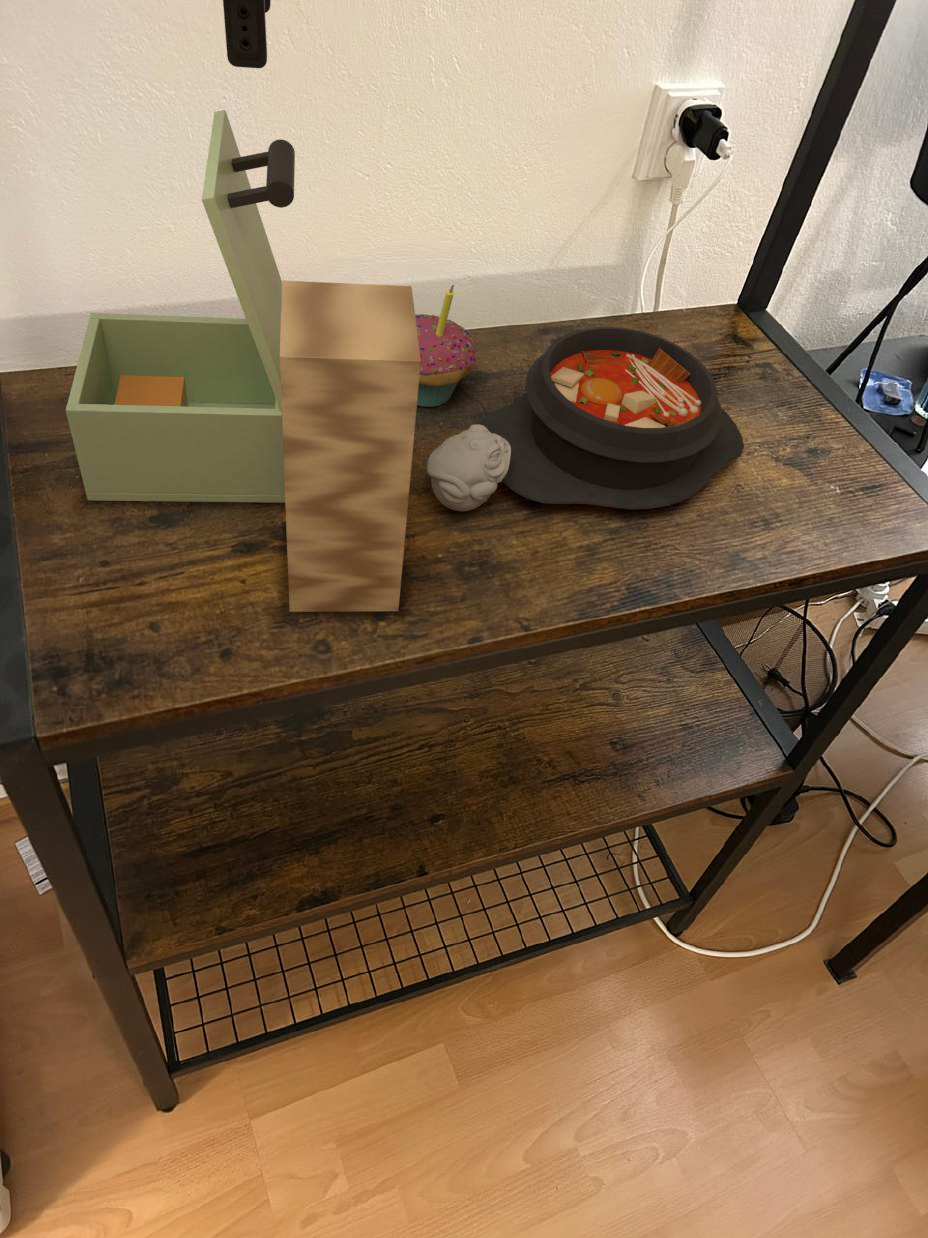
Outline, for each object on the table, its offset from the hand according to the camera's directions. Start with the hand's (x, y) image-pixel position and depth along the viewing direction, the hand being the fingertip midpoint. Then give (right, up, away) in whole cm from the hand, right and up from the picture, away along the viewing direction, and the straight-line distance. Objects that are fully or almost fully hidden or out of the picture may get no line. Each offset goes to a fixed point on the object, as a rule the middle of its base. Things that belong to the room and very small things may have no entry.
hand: (250, 36), depth 58 cm
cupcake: (+9, -14, +32) cm, 36 cm away
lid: (-3, -10, +11) cm, 15 cm away
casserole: (+26, -20, +29) cm, 44 cm away
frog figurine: (+13, -25, +23) cm, 36 cm away
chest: (-10, -21, +23) cm, 33 cm away
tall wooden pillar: (+4, -31, +16) cm, 35 cm away
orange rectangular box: (-13, -20, +22) cm, 33 cm away
